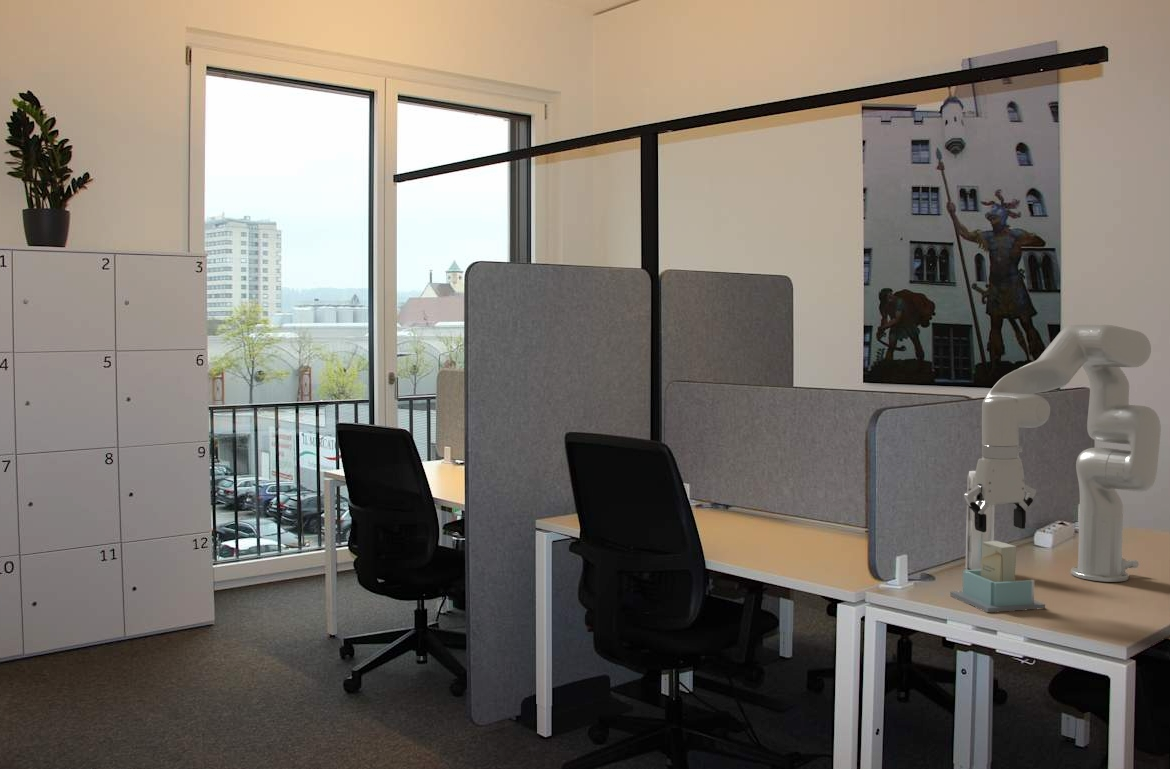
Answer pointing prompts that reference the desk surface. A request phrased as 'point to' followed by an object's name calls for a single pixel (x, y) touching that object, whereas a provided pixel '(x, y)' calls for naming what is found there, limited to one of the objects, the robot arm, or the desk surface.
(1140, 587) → the desk surface
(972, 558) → the tall white box
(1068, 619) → the desk surface
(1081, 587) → the desk surface
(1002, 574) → the skincare box
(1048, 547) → the desk surface
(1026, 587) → the holder
